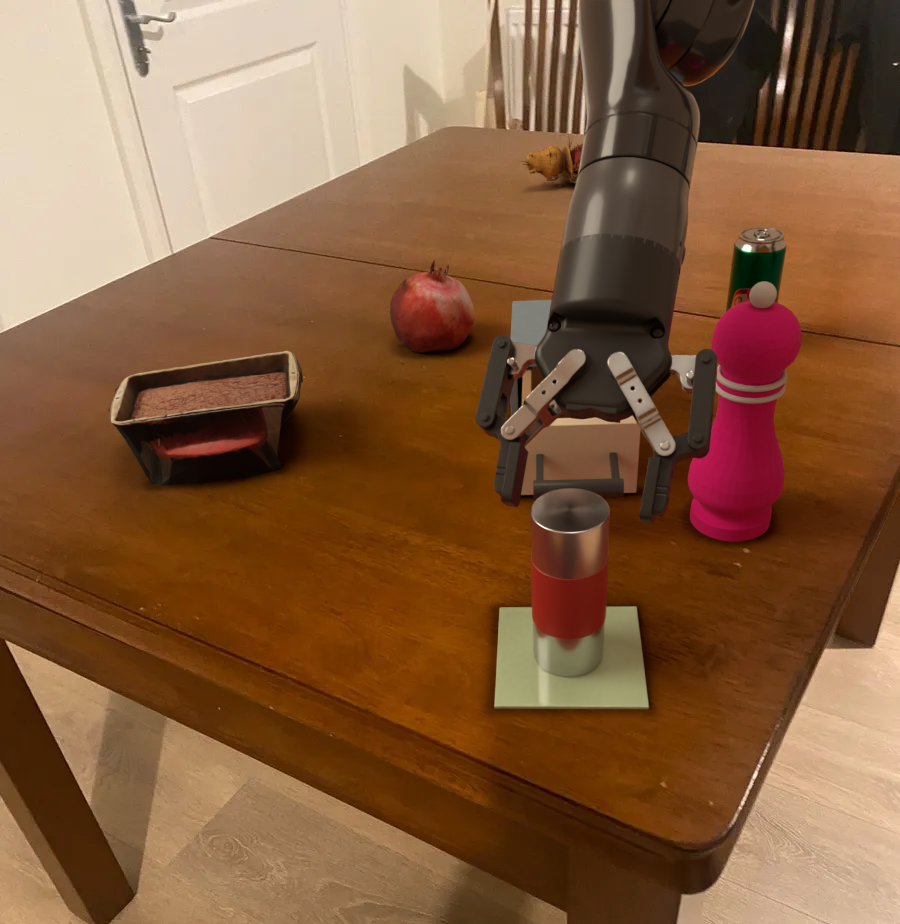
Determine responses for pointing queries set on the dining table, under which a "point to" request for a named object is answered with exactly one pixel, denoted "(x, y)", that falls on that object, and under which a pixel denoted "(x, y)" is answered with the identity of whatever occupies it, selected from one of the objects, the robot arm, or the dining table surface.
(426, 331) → the fruit
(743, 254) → the soda can
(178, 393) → the baking dish
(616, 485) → the drawer
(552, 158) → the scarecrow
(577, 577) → the tin
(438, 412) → the dining table surface
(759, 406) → the pepper mill
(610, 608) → the tile
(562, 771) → the dining table surface
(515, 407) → the cabinet
